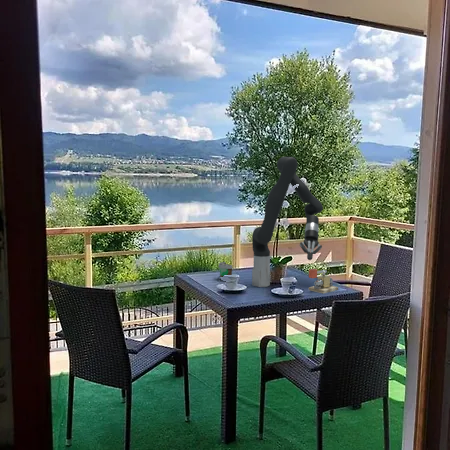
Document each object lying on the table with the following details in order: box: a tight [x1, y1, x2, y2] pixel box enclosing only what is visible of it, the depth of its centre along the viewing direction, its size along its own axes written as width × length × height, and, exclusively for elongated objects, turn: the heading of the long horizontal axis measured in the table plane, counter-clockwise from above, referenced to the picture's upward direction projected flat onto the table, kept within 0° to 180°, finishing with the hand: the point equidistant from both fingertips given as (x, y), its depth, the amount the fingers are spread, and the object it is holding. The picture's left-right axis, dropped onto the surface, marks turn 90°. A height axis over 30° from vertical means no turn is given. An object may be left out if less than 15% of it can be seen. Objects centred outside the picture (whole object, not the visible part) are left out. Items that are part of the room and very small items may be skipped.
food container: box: [217, 261, 233, 278], centre depth 284 cm, size 12×6×10 cm, turn 21°
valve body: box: [313, 275, 334, 289], centre depth 260 cm, size 12×4×6 cm, turn 130°
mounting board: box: [308, 285, 339, 294], centre depth 261 cm, size 13×10×2 cm
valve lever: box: [308, 268, 328, 279], centre depth 257 cm, size 12×3×5 cm, turn 127°
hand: (309, 259), depth 262 cm, fingers closed
